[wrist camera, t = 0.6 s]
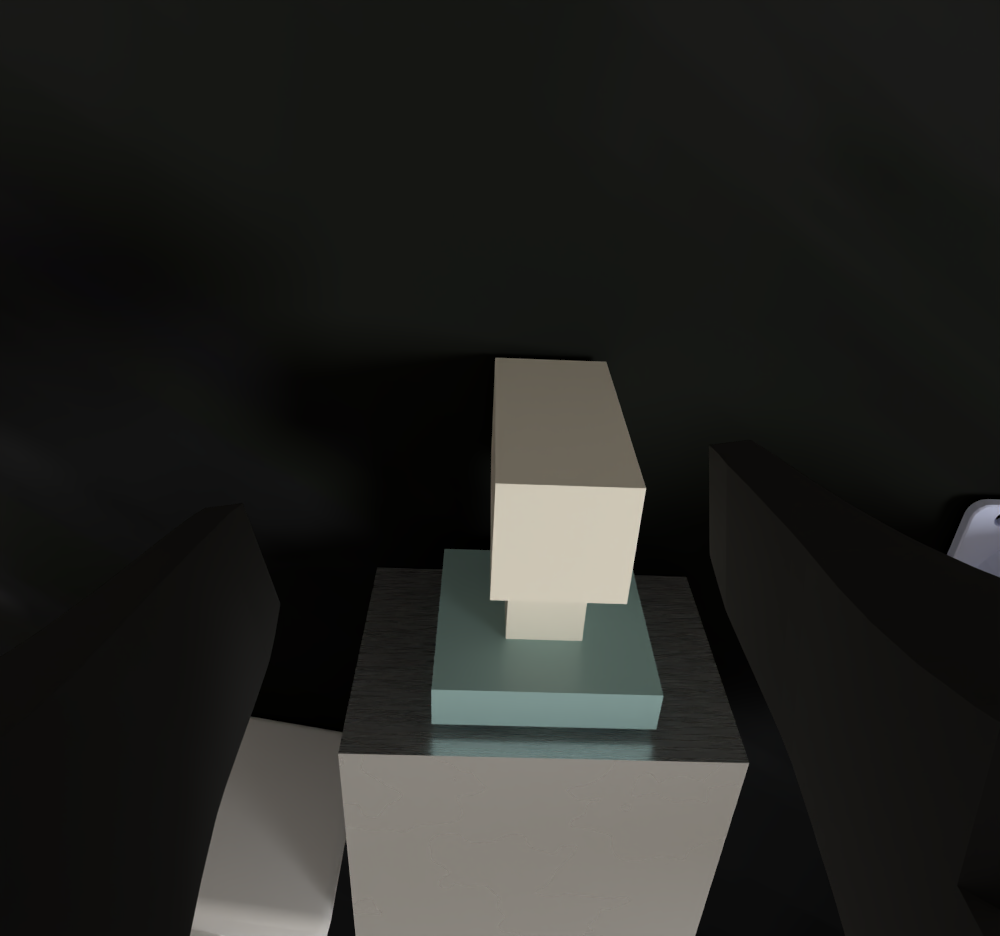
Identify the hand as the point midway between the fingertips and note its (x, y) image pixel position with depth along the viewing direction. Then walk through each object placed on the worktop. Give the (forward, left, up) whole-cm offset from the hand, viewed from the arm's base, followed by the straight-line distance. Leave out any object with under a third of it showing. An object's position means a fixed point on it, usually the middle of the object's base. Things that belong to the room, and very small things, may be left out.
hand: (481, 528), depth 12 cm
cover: (-2, +9, -10) cm, 13 cm away
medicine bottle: (+8, +19, -10) cm, 23 cm away
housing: (-2, +13, -10) cm, 17 cm away
